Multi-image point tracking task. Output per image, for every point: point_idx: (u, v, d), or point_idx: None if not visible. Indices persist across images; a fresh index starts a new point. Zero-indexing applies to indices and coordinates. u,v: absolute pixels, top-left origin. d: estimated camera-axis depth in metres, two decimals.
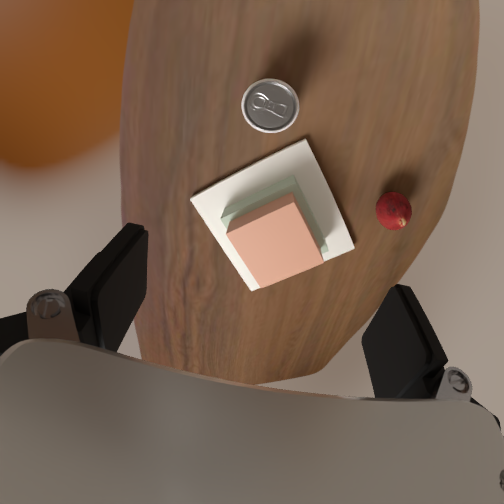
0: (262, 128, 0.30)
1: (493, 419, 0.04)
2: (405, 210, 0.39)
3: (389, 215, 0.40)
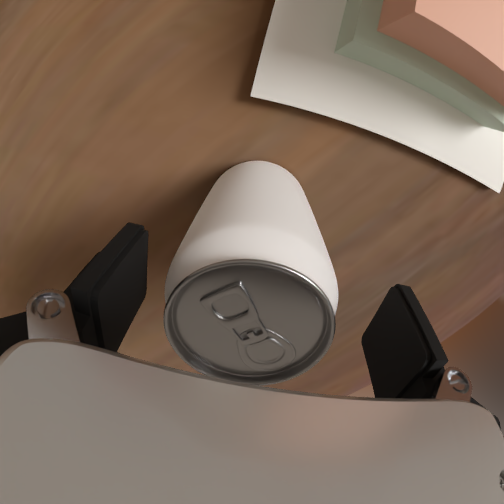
0: (324, 300, 0.09)
1: (493, 419, 0.04)
2: None
3: None
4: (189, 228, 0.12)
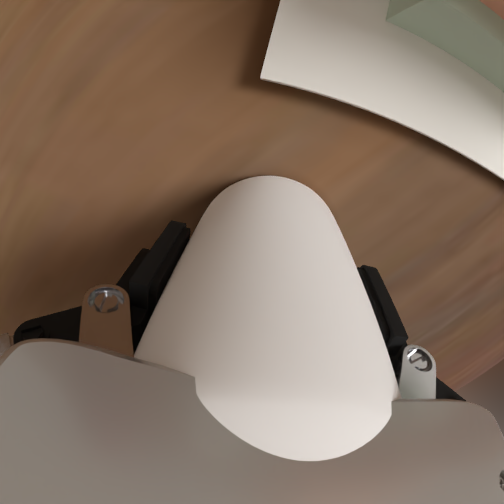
0: None
1: (493, 419, 0.04)
2: None
3: None
4: (148, 324, 0.06)
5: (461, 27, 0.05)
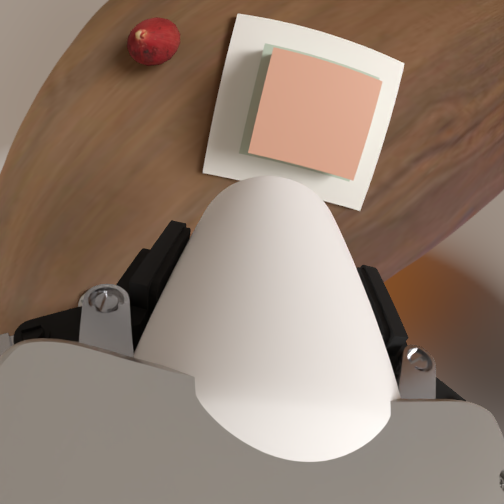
0: None
1: (493, 419, 0.04)
2: (132, 45, 0.23)
3: (155, 46, 0.23)
4: (147, 325, 0.06)
5: None
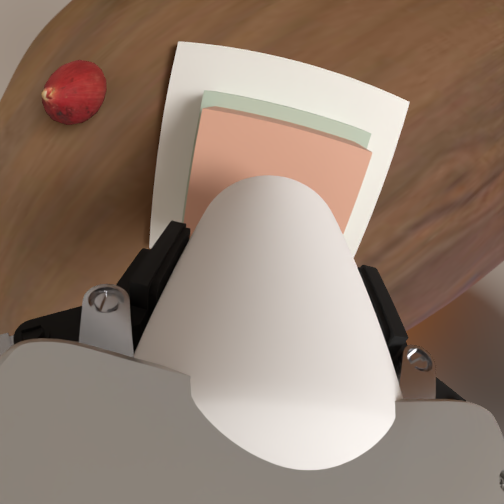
0: None
1: (493, 419, 0.04)
2: (44, 105, 0.17)
3: (68, 106, 0.17)
4: (148, 324, 0.06)
5: None
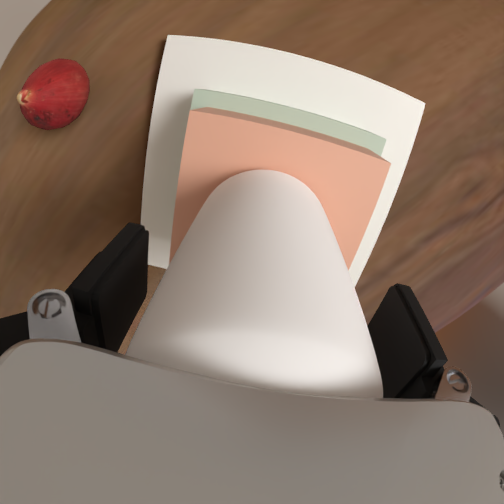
0: None
1: (493, 419, 0.04)
2: (21, 110, 0.15)
3: (46, 109, 0.15)
4: (156, 289, 0.07)
5: None
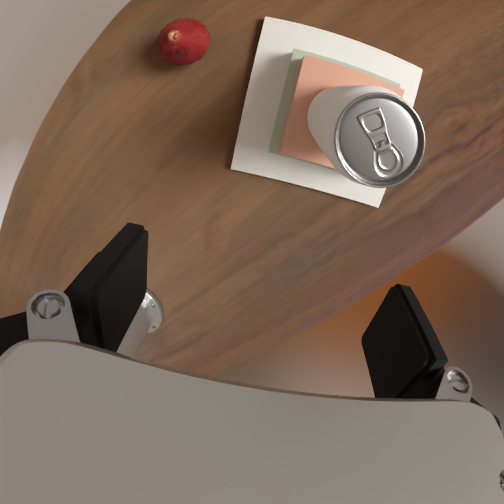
0: (419, 124, 0.14)
1: (493, 419, 0.04)
2: (163, 45, 0.24)
3: (187, 47, 0.24)
4: (328, 98, 0.17)
5: None
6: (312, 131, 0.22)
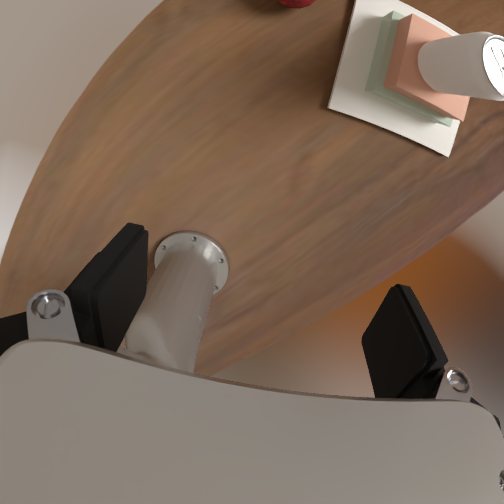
0: None
1: (493, 419, 0.04)
2: None
3: None
4: (459, 38, 0.15)
5: (383, 95, 0.30)
6: (434, 65, 0.20)
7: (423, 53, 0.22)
